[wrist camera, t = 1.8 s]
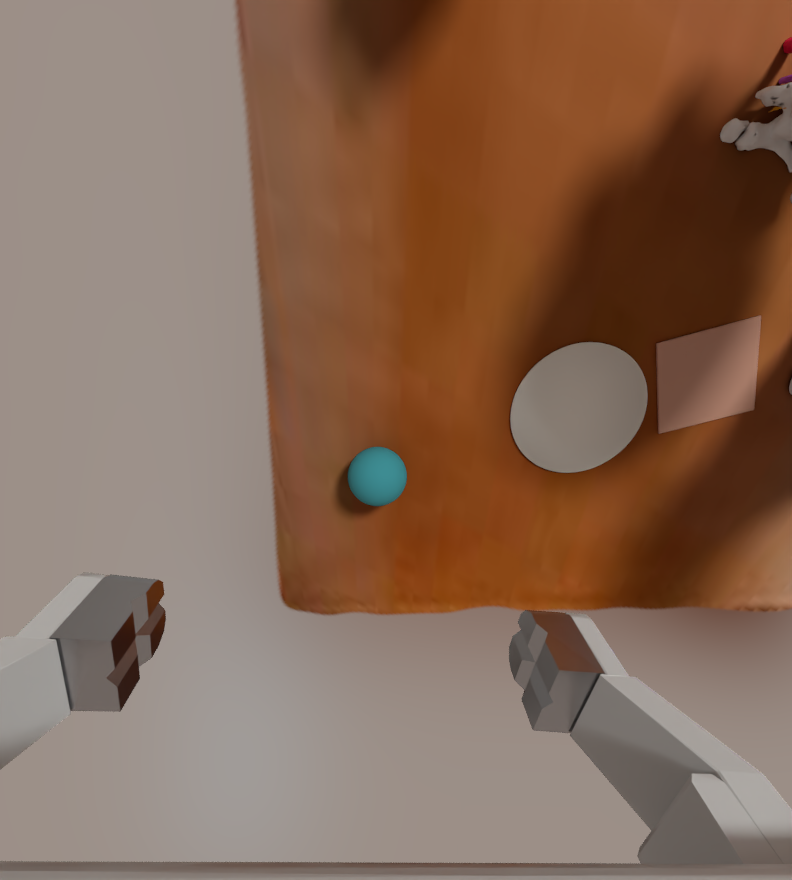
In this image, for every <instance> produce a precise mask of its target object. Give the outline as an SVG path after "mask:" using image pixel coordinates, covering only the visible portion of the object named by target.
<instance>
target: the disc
mask: <svg viewBox="0 0 792 880" xmlns="http://www.w3.org/2000/svg"><path fill="white" fill-rule="evenodd" d="M647 399H648V392H647V384H646V380H645V377H644V375H643V372H642V370H641V369H640V367H639V365H638V364H637V363H636V361H635V360H634V359H633V358H632V357H631V356H630V355H628V354H627V353H626V352H624V351H622V350H621V349H619V348H617V347H614V346H612V345H609V344H604V343H598V342H583V343H577V344H572V345H569V346H566V347H563V348H560V349H558V350H556V351H554V352H552V353H551V354H549V355H547V356H546V357H544V358H543V359H542V360H540V361H539V362H538V363H537V364H536V365H535V366H534V367H533V368H532V369H531V370H530V371H529V372H528V373H527V375H526V376H525V377H524V378H523V380H522V382H521V383H520V385H519V387H518V389H517V391H516V393H515V396H514V399H513V402H512V406H511V413H510V424H511V430H512V435H513V438H514V440H515V442H516V444H517V446H518V448H519V449H520V451H521V452H522V453H523V454H524V455H525V456H526V457H527V458H528V459H529V460H530V461H531V462H533V463H534V464H536V465H537V466H540V467H542V468H544V469H547V470H550V471H555V472H562V473H571V472H580V471H585V470H588V469H591V468H594V467H597V466H599V465H601V464H603V463H605V462H607V461H608V460H610V459H611V458H613V457H614V456H616V455H617V454H618V453H619V452H621V451H622V450H623V449H624V448H625V447H626V446H627V445H628V444H629V442H630V441H631V440H632V439H633V437H634V436H635V434H636V433H637V431H638V429H639V428H640V425H641V423H642V421H643V419H644V415H645V412H646V407H647Z"/></svg>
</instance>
